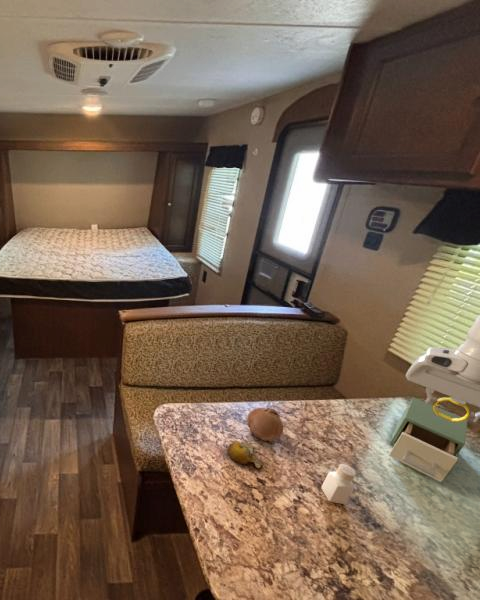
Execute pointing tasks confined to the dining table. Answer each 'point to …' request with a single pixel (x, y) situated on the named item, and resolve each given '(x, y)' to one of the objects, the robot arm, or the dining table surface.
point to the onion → (265, 423)
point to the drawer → (425, 451)
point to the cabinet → (432, 423)
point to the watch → (455, 401)
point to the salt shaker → (339, 484)
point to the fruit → (242, 453)
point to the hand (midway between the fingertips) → (449, 411)
